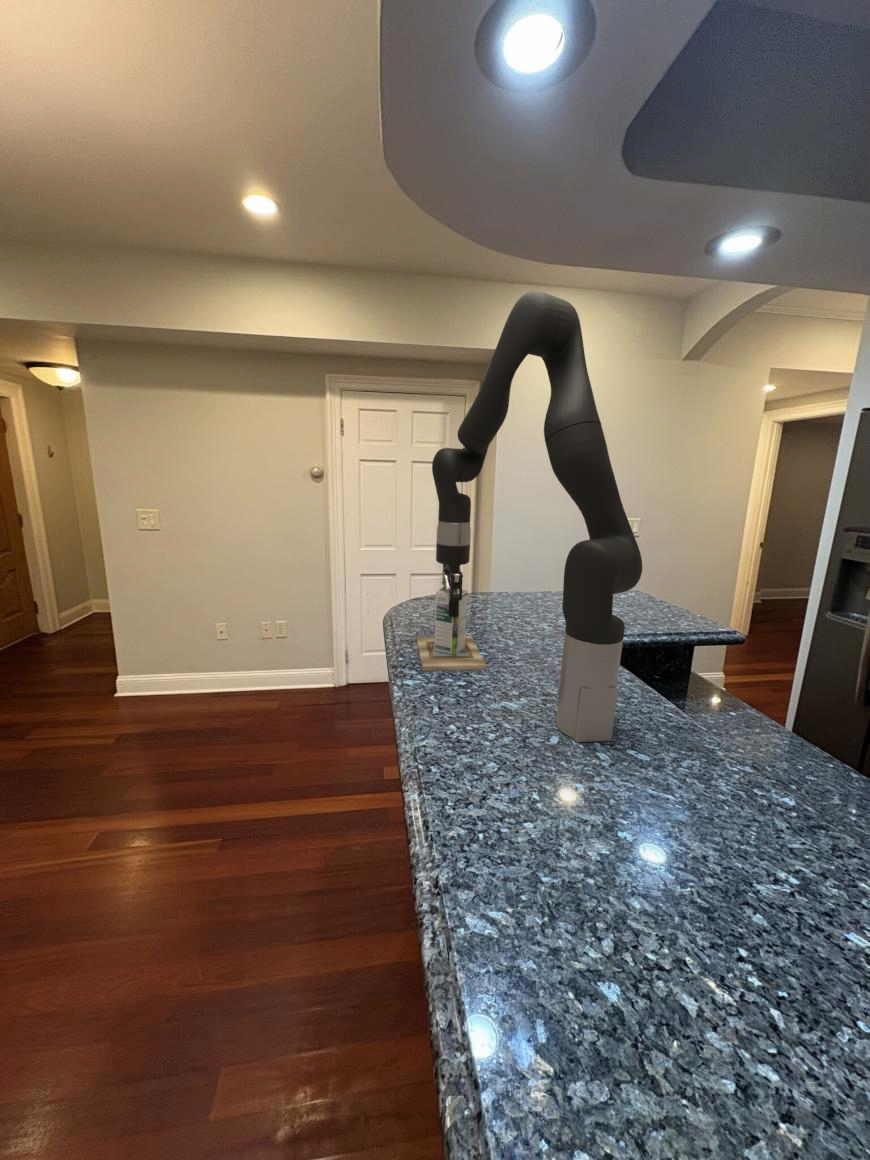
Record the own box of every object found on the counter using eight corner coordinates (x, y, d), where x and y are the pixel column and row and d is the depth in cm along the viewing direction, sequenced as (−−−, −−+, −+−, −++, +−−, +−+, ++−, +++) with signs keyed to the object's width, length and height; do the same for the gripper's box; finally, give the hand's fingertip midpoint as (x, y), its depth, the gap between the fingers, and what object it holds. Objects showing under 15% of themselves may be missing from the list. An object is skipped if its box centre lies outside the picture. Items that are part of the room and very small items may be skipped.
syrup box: (433, 651, 112) (434, 591, 108) (444, 642, 117) (446, 585, 113) (455, 656, 109) (458, 594, 106) (465, 647, 114) (468, 588, 111)
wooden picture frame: (486, 670, 105) (486, 664, 105) (422, 671, 104) (422, 665, 103) (470, 640, 123) (471, 635, 122) (416, 640, 121) (416, 635, 121)
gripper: (476, 547, 100) (472, 620, 104) (464, 536, 114) (461, 601, 118) (440, 547, 99) (438, 621, 103) (433, 536, 113) (431, 602, 117)
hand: (450, 610), depth 111 cm, fingers open, 8 cm apart
